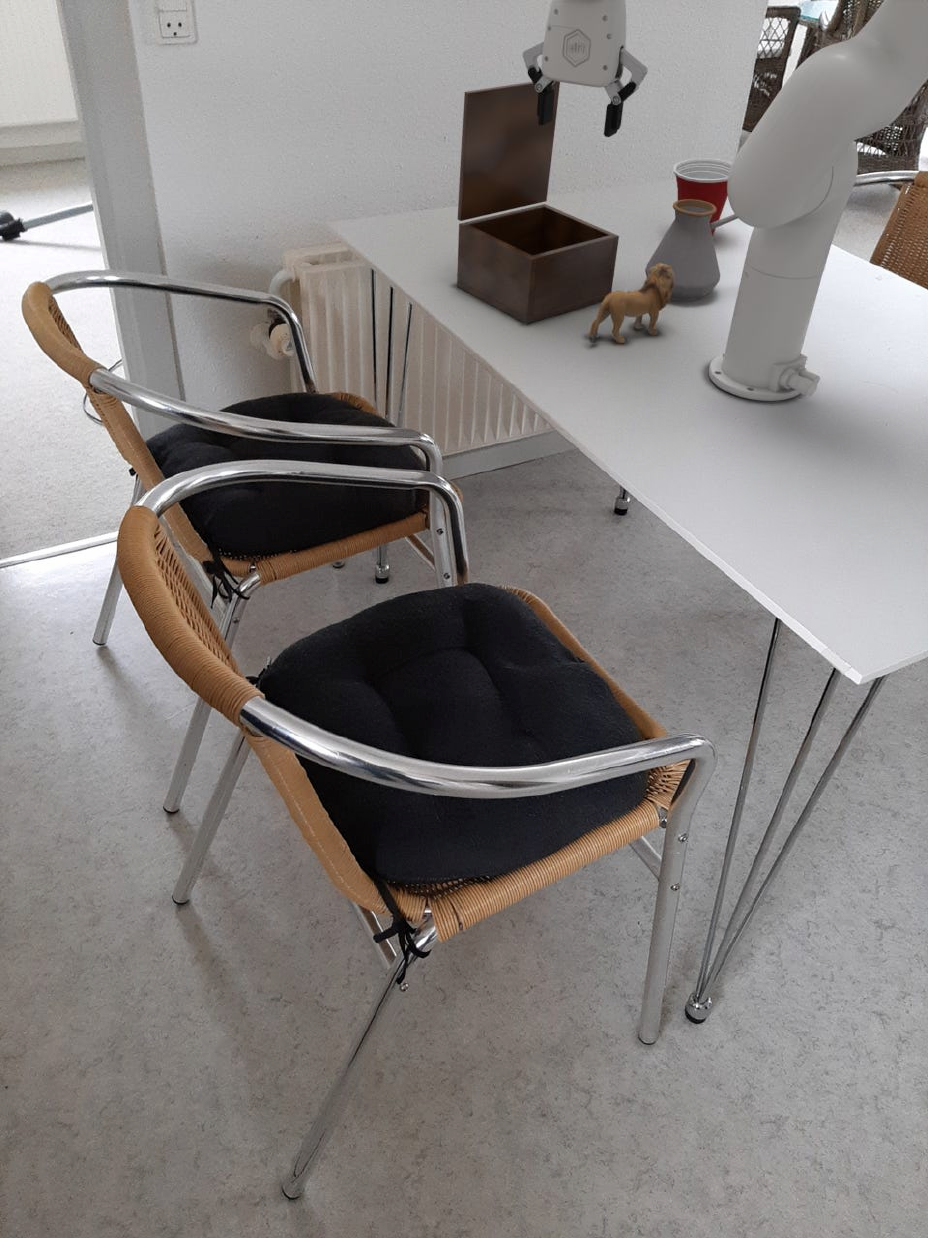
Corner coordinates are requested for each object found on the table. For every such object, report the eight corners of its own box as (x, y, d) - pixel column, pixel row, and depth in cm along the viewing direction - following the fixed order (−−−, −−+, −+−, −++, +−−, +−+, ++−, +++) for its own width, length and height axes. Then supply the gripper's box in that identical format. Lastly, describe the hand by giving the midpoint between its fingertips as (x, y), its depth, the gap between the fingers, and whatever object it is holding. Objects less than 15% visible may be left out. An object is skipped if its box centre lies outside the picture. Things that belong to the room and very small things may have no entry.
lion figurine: (648, 315, 149) (658, 255, 143) (675, 328, 146) (687, 267, 140) (577, 340, 141) (585, 277, 135) (604, 354, 138) (613, 290, 132)
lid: (560, 78, 144) (538, 70, 147) (468, 92, 136) (445, 83, 139) (546, 201, 156) (526, 191, 159) (460, 221, 148) (440, 210, 151)
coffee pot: (653, 306, 151) (671, 204, 142) (633, 276, 160) (648, 178, 150) (788, 304, 154) (814, 203, 144) (761, 275, 163) (784, 178, 153)
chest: (610, 298, 153) (619, 235, 147) (526, 324, 145) (531, 258, 139) (539, 263, 163) (544, 203, 157) (456, 286, 154) (458, 223, 148)
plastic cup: (649, 231, 176) (661, 159, 168) (700, 224, 180) (713, 153, 172) (685, 253, 169) (698, 178, 161) (737, 245, 172) (752, 172, 165)
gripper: (516, -24, 125) (508, 124, 136) (645, -9, 119) (626, 145, 130) (542, -31, 130) (532, 113, 141) (667, -16, 124) (647, 133, 135)
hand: (577, 128), depth 136 cm, fingers open, 9 cm apart
